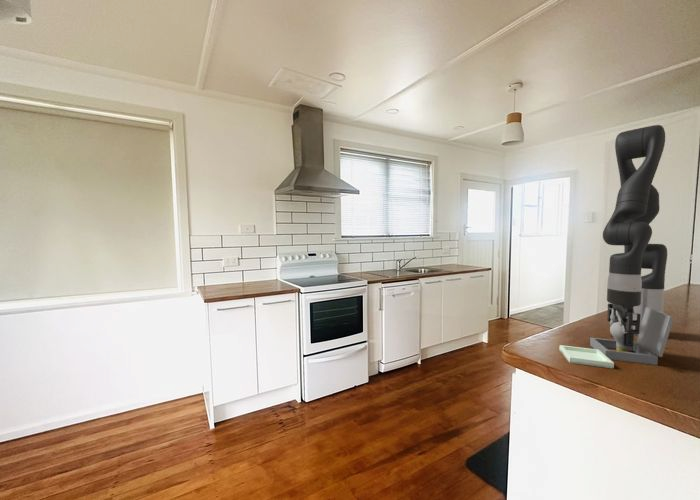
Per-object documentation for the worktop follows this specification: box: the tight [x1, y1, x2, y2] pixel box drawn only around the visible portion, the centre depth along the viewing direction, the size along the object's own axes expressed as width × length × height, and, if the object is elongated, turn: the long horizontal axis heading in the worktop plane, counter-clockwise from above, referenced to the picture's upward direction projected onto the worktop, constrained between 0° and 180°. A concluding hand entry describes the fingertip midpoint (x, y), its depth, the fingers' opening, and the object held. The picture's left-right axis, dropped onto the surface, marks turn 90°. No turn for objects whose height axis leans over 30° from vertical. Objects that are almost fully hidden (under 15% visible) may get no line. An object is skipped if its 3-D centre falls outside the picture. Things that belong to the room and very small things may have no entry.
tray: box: [558, 344, 615, 369], centre depth 86 cm, size 10×10×2 cm
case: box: [589, 337, 659, 366], centre depth 89 cm, size 12×12×2 cm
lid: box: [635, 307, 675, 358], centre depth 86 cm, size 12×12×1 cm
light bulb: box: [609, 322, 627, 352], centre depth 89 cm, size 5×6×10 cm
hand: (621, 341), depth 89 cm, fingers open, 7 cm apart
